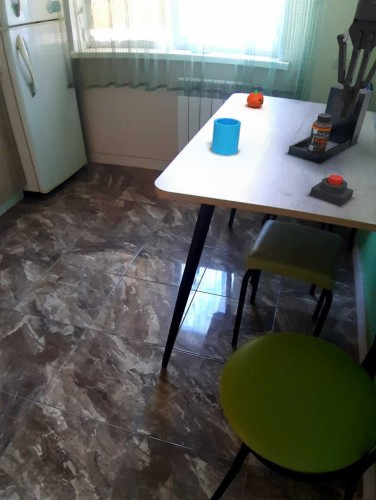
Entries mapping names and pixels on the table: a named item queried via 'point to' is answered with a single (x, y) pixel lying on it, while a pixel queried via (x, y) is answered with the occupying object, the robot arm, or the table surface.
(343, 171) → the table surface
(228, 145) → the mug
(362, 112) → the dark l-shaped stand
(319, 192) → the control block
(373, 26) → the robot arm
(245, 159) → the table surface
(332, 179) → the button
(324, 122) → the supplement bottle
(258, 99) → the pumpkin
